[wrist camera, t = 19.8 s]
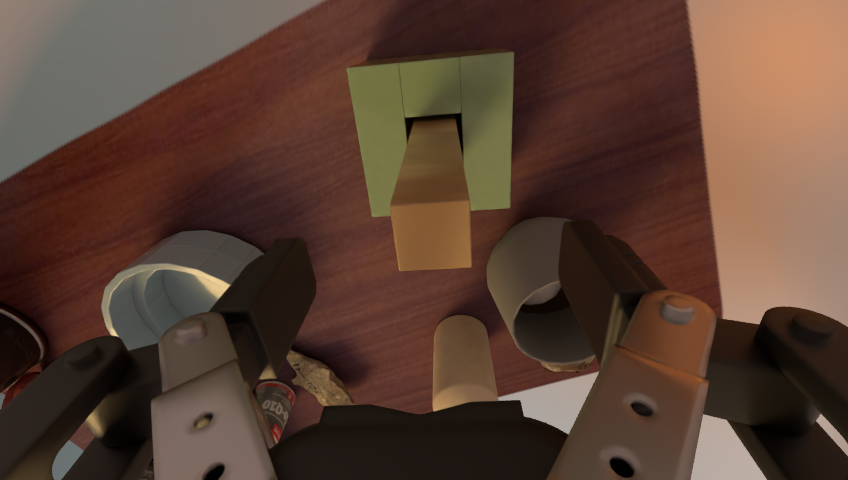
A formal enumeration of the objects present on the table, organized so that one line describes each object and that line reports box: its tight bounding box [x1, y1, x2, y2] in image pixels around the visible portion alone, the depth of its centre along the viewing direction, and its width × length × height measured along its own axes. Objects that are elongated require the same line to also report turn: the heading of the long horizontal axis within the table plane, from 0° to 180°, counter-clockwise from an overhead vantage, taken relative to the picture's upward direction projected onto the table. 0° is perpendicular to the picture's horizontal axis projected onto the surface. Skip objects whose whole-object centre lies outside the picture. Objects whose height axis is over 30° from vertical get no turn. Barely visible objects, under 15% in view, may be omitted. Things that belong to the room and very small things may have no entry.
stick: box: [390, 114, 472, 271], centre depth 20 cm, size 3×3×18 cm
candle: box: [433, 315, 498, 411], centre depth 34 cm, size 6×6×10 cm
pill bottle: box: [256, 381, 296, 444], centre depth 41 cm, size 5×5×8 cm
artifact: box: [287, 349, 355, 406], centre depth 41 cm, size 7×3×10 cm
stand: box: [347, 48, 514, 217], centre depth 26 cm, size 9×9×6 cm
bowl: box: [101, 230, 264, 350], centre depth 34 cm, size 14×14×6 cm
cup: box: [487, 217, 595, 365], centre depth 29 cm, size 10×9×10 cm
